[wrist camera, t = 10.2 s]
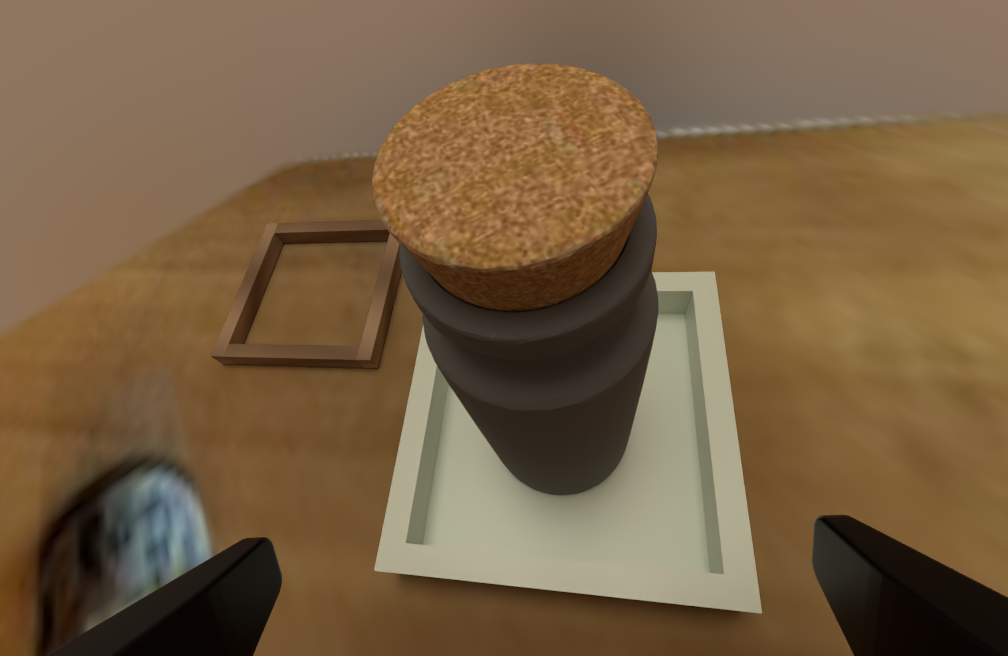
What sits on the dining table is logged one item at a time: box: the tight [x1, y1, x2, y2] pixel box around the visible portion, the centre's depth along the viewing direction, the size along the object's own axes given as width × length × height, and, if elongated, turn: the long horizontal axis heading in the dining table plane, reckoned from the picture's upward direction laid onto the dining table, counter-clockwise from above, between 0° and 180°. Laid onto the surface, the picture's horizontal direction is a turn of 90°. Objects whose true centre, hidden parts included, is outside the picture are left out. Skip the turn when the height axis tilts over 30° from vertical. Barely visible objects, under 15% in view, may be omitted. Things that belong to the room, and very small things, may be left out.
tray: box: [374, 272, 762, 614], centre depth 20 cm, size 13×13×2 cm
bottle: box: [372, 63, 658, 495], centre depth 14 cm, size 6×6×15 cm
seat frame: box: [211, 220, 402, 368], centre depth 26 cm, size 9×9×1 cm
